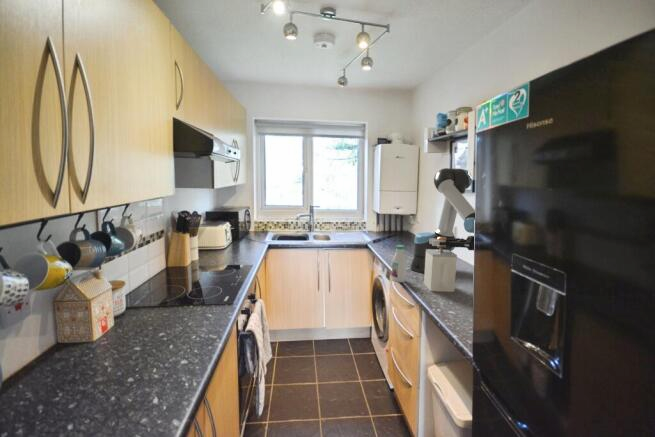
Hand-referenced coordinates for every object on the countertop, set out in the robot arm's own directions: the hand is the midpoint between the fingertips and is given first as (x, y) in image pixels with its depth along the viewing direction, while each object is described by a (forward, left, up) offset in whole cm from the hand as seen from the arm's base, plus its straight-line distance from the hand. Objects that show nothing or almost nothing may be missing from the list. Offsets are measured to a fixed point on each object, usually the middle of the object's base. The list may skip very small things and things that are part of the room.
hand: (431, 242), depth 167 cm
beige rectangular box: (+2, +5, -24) cm, 25 cm away
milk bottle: (-10, -14, -25) cm, 30 cm away
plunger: (0, +5, -23) cm, 24 cm away
